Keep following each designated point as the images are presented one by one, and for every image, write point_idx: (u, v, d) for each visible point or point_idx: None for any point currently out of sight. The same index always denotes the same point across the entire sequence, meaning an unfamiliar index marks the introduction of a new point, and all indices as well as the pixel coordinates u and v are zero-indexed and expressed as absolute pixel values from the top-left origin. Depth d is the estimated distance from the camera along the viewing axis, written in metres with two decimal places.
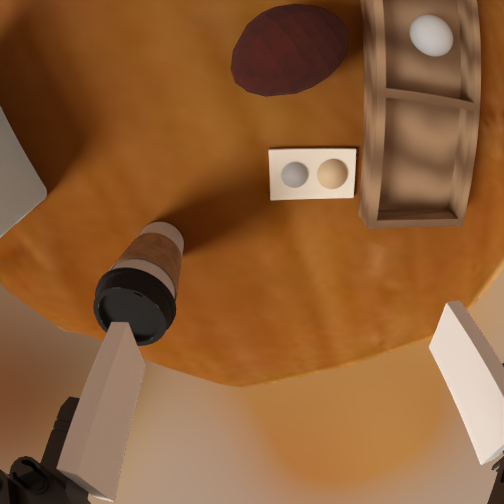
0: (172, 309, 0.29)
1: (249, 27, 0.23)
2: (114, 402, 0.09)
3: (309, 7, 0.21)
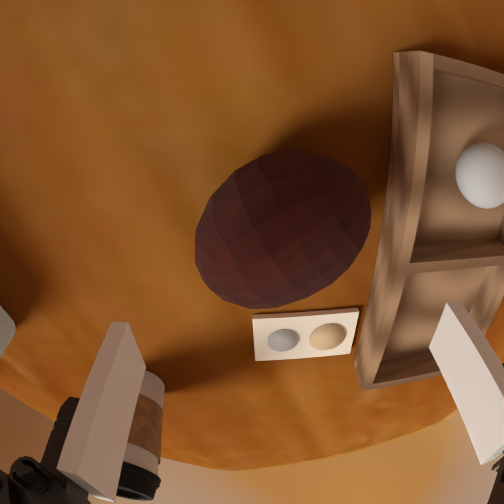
0: (157, 484, 0.24)
1: (215, 216, 0.17)
2: (114, 402, 0.09)
3: (315, 181, 0.16)
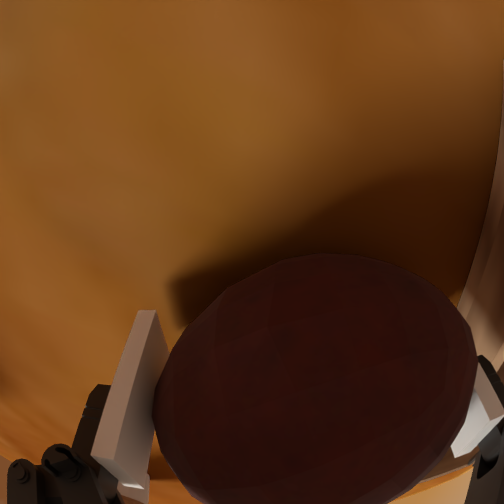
0: None
1: (177, 424, 0.07)
2: (144, 388, 0.10)
3: (404, 381, 0.06)
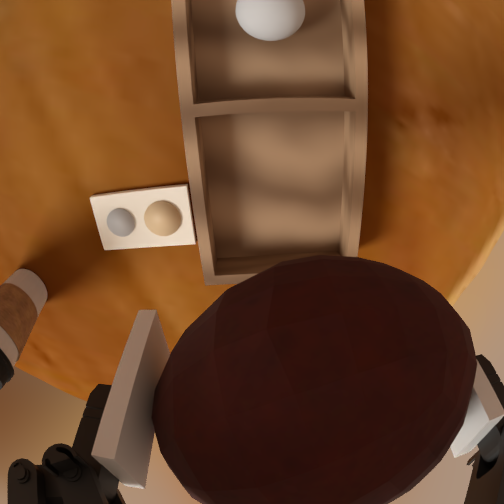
0: (4, 363, 0.24)
1: (177, 426, 0.07)
2: (145, 387, 0.10)
3: (402, 384, 0.06)
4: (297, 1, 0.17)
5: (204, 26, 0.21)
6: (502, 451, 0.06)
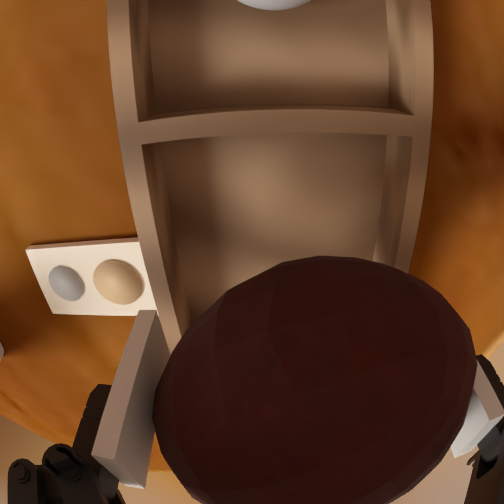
0: None
1: (177, 426, 0.07)
2: (145, 387, 0.10)
3: (403, 385, 0.06)
4: None
5: None
6: (502, 451, 0.06)
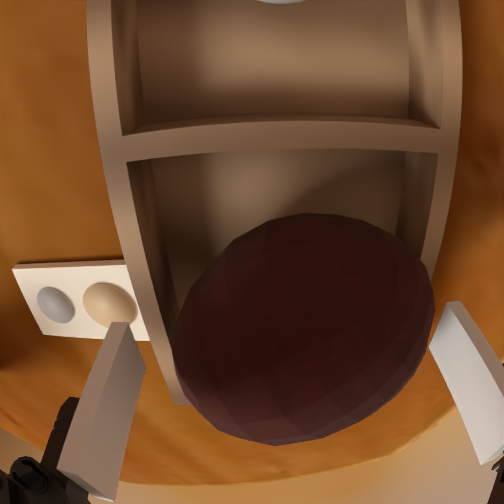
0: None
1: (194, 337, 0.10)
2: (114, 402, 0.09)
3: (362, 289, 0.09)
4: None
5: None
6: None
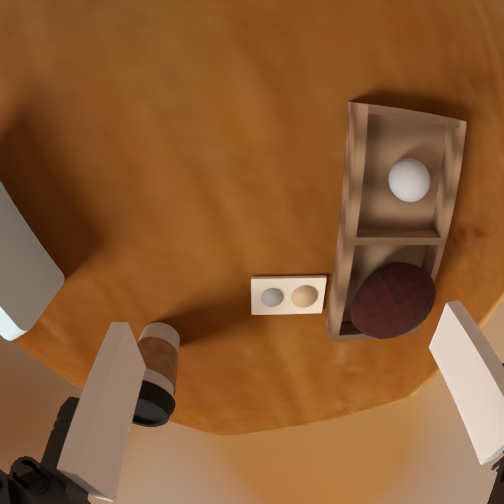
0: (172, 406, 0.36)
1: (375, 299, 0.36)
2: (114, 402, 0.09)
3: (419, 284, 0.34)
4: (429, 182, 0.31)
5: None
6: None
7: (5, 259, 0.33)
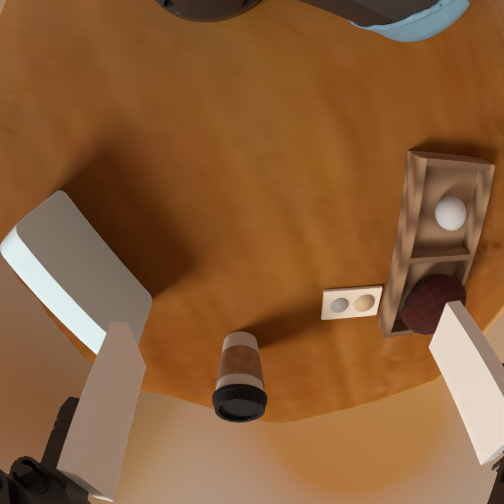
0: (266, 402, 0.45)
1: (423, 305, 0.43)
2: (114, 402, 0.09)
3: (455, 292, 0.42)
4: None
5: None
6: None
7: (102, 288, 0.41)
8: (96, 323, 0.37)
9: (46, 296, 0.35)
